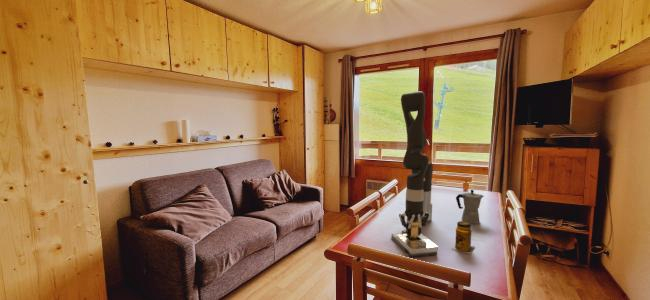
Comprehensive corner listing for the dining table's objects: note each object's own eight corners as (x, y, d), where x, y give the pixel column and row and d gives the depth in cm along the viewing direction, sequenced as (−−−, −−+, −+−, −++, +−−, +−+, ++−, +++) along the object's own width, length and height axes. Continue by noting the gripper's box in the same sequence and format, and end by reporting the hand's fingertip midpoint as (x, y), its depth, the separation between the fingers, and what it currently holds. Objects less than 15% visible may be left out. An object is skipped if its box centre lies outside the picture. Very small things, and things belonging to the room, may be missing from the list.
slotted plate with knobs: (414, 235, 134) (414, 225, 134) (437, 255, 115) (438, 243, 114) (391, 237, 132) (391, 226, 132) (411, 258, 113) (411, 245, 112)
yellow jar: (452, 249, 120) (453, 223, 119) (457, 242, 127) (458, 217, 125) (470, 254, 116) (471, 227, 114) (474, 247, 122) (476, 221, 121)
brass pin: (415, 239, 126) (416, 218, 125) (421, 244, 121) (422, 222, 120) (405, 240, 125) (405, 219, 124) (410, 245, 120) (411, 223, 119)
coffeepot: (477, 217, 158) (478, 187, 155) (487, 224, 148) (489, 191, 146) (450, 218, 157) (452, 187, 155) (459, 224, 148) (461, 192, 146)
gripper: (424, 195, 126) (423, 230, 128) (395, 196, 123) (395, 233, 125) (434, 199, 118) (432, 237, 120) (403, 201, 116) (402, 240, 118)
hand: (413, 235), depth 123 cm, fingers closed on brass pin, 4 cm apart
